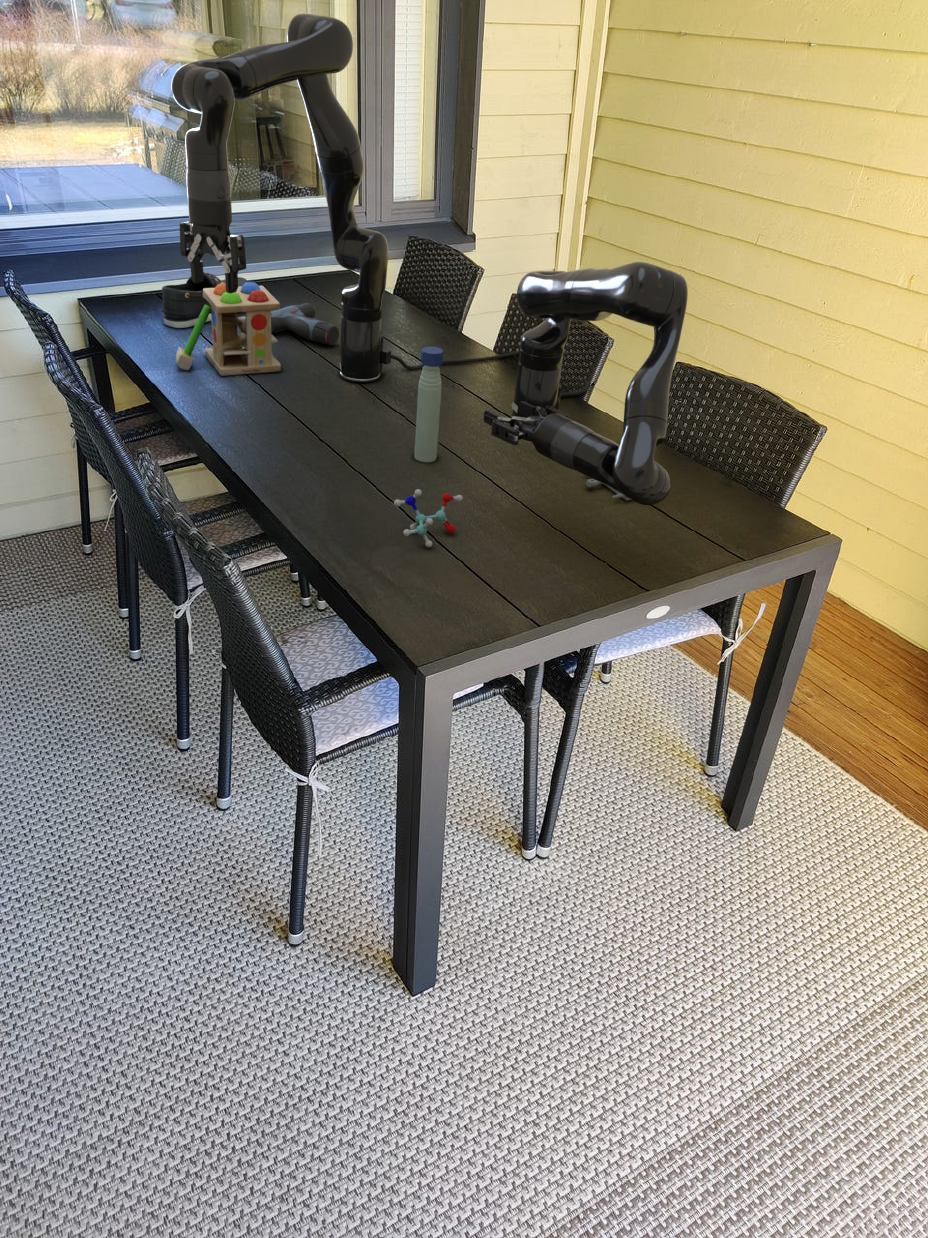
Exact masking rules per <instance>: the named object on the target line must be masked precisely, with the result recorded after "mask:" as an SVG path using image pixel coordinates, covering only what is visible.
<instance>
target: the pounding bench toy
mask: <svg viewBox="0 0 928 1238" xmlns="http://www.w3.org/2000/svg"><path fill="white" fill-rule="evenodd" d="M203 296H204V297H205V299H206V300H207V301H208V302H209V304H210V305H211V307H210V306H208V305H204V307H203V309H202V311H201V314H200V316H199V318H198V320H197V322H196V324H195V325H194V326H193V329H192V331H191V332H190V333H191V334H190V336H189V338H188V340H187V343H186V344H185V347H184V348H182V347H180V346H179V347H178V349H177V351H176V354H175V357H174V358H175V362H176V365H177V366H178V368H179V369H182V370H185V371H189V370H190V369H191V367H192V365H193V363H194V356H193V351H194V348H195V347H196V345H197V342H198V340H199V337H200V336H201V333H202V332H203V329H204V326H205V325H206V323H207V322H206V320H207V318H209V320H210V321H209V322H211V336H212V337H211V338H212V339H211V340H212V348H205V349H204V352H205V353H204V355H205V357H206V359H208V361H209V363H210V364H211V365H212V366H213V367H214V369H215V370H216V371H217V372H218V374H219V375H220V376H222V377H223V376H234V375H235V376H236V375H246V374H247V375H250V374H262V373H275V372H281V370H282V364H281V363H280V362H279V360H278V359H277V358H276V357H275V356H274V355H273V348H272V347H273V345H272V344H276V343H278V342H279V341H278V339H277V338H276V337H275V336H274V334H273V333H272V334H271V312H272V311H275V310H280V309H281V304H280V301H278V300H277V299H276V297H274V296H273V295H272V294H271V293H270V292H269V290H268V289H267V288H266V287H264V285H259V284H257V283H256V282H255V281H248V282H247V283H245V284H244V285H243V286H242V287H238V289H237V291H236V292H234V293H227V292H226V283H221V284H218V285H217V286H216V287H215V288H204V289H203ZM210 310H211V314H209V312H210ZM238 313H244V314H245V315H244V316H238ZM238 329H239V331H240V333H239V334H238Z"/></svg>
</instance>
